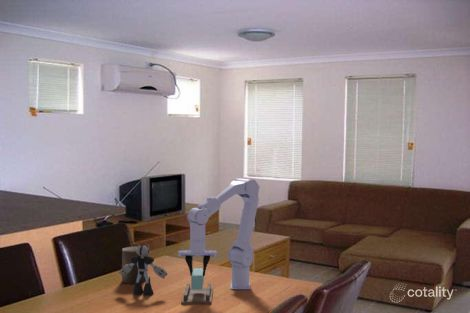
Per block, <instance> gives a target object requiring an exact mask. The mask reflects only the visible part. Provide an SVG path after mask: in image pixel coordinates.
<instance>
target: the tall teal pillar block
mask: <svg viewBox="0 0 470 313" xmlns="http://www.w3.org/2000/svg"><path fill="white" fill-rule="evenodd" d="M190 278H191V279H190V288H191V289H192V290H202V288H204V282H205V279H204V278H205V276H203V267H202V268H201V267H198V268H196V267H195V268H193V272H192V275H190Z"/></svg>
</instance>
